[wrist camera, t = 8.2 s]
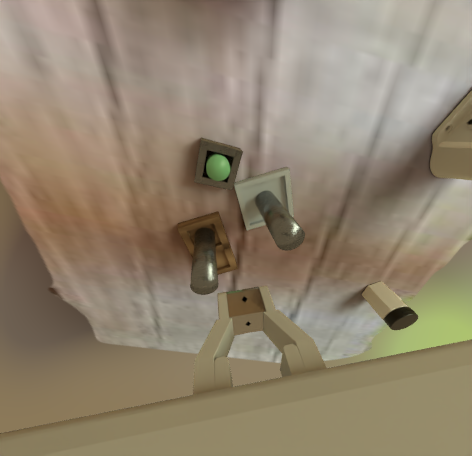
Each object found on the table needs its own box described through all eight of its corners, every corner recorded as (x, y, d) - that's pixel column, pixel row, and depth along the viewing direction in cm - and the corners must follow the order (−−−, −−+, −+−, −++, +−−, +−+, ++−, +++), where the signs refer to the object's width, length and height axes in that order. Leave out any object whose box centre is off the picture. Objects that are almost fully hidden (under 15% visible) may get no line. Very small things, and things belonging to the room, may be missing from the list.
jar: (389, 287, 65) (423, 319, 55) (369, 300, 68) (397, 333, 58) (378, 277, 61) (412, 310, 51) (357, 292, 64) (385, 326, 54)
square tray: (233, 182, 37) (234, 185, 36) (286, 166, 37) (289, 168, 35) (245, 226, 43) (246, 230, 42) (291, 213, 43) (293, 216, 41)
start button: (208, 149, 33) (208, 153, 29) (230, 155, 34) (232, 160, 30) (204, 171, 34) (204, 178, 31) (225, 176, 35) (227, 183, 32)
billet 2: (259, 188, 38) (283, 224, 26) (278, 193, 39) (309, 228, 27) (252, 207, 40) (271, 248, 28) (270, 211, 41) (297, 251, 29)
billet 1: (196, 225, 40) (192, 274, 28) (216, 229, 41) (221, 277, 29) (193, 242, 42) (188, 293, 30) (212, 244, 43) (215, 295, 31)
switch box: (201, 137, 32) (200, 140, 29) (240, 148, 34) (242, 151, 31) (195, 176, 35) (194, 182, 33) (230, 184, 37) (232, 190, 34)
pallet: (178, 223, 40) (177, 228, 38) (218, 211, 40) (218, 216, 38) (203, 272, 49) (203, 278, 47) (236, 262, 49) (237, 268, 47)
